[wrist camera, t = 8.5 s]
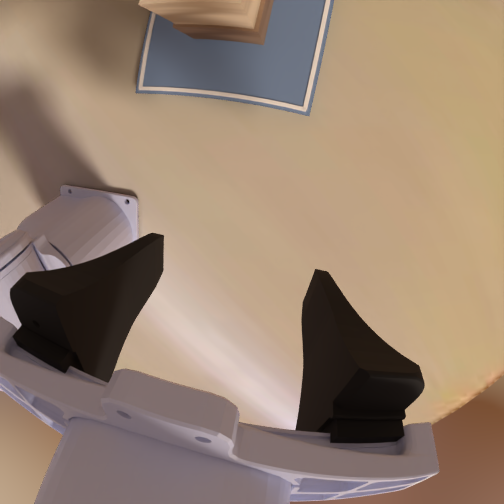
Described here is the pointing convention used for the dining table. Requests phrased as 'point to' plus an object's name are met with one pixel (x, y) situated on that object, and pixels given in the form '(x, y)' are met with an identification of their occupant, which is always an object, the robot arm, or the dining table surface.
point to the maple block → (206, 11)
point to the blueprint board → (240, 57)
